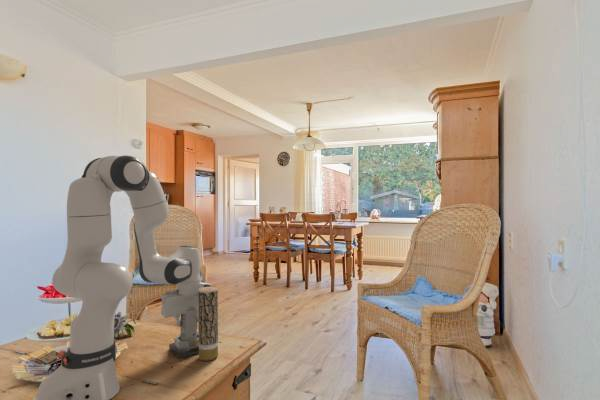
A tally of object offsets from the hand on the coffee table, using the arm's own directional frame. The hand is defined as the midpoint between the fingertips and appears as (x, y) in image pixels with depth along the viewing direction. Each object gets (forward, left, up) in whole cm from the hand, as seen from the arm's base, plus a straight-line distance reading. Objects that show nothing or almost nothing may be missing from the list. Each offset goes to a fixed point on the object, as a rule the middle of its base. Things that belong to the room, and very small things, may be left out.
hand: (189, 323), depth 131 cm
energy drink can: (0, 0, -8) cm, 8 cm away
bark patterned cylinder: (+2, -11, -10) cm, 15 cm away
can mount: (0, 0, -10) cm, 10 cm away
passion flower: (-17, +34, -10) cm, 39 cm away
